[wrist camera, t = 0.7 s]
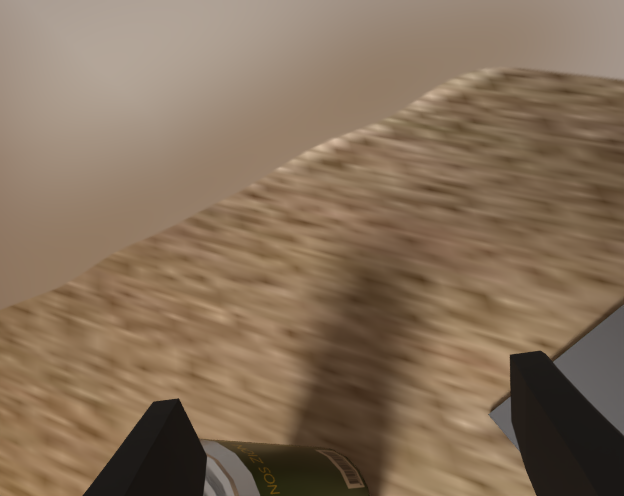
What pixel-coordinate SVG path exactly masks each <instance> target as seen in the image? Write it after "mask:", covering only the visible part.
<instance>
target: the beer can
mask: <svg viewBox="0 0 624 496" xmlns="http://www.w3.org/2000/svg"><path fill="white" fill-rule="evenodd" d="M199 440H200V442H201V444H202V446H203V449H204V451H205V453H206V455H207V465H206V476H205V486H204V494H203V496H370V495H369V490H368V487H367V485H366V483H365V481H364V479H363V477H362V475H361V473H360V471H359V470H358V469H357V468H356V467H355V465H354V464H353V463H352V462H351V461H350V460H349V459H348V458H347V457H345V456H343V455H342V454H340V453H338V452H336V451H334V450H332V449H326V448H319V447H309V446H295V445H280V444H266V443H252V442H238V441H224V440H209V439H199Z"/></svg>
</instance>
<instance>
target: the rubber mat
mask: <svg viewBox="0 0 624 496" xmlns="http://www.w3.org/2000/svg"><path fill="white" fill-rule="evenodd" d="M553 363H554V364H555V365H556V366H557V368H558V369H559V370H560V371H561V372H562V373H563V374H564V375H565V376H566V378H567V379H568V380H569V381H570V382H571V383H572V384H573V385H574V386H575V387H576V388H577V389H578V390H579V391H580V392H581V394H582V395H583V396H584V397H585V398H586V399H587V400H588V401H589V402H590V403H591V404H592V405H593V406H594V407H595V408H596V409H597V410H598V411H599V412H600V413H601V414H602V415H603V416H604V417H605V418H606V419H607V420H608V421H609V422H610V423H611V424H612V425H613V426H614V427H616V428H617V429H618V430H619V431H620V432H621V433H622V434H623V435H624V305H622V306H621V307H620V308H619V309H618V310H616V311H615V312H614V313H613V314H611V315H610V316H609V317H608V318H606V319H605V320H604V321H603V322H602V323H600V324H599V325H598V326H597V327H595V328H594V329H593V330H592V331H590V332H589V333H588V334H587V335H586V336H584V337H583V338H582V339H581V340H579V341H578V342H577V343H576V344H574V345H573V346H572V347H571V348H570V349H568V350H567V351H566V352H565V353H563V354H562V355H561V356H560V357H558V358H557V359H556V360H555V361H554V362H553ZM488 415H489V416H490V417H491V418H492V419H493V420H494V422H495V423H496V424H497V425H498V426H499V428H500V429H501V430H502V431H503V432H504V433H505V435H506V436H507V437H508V438H509V439H510V441H511V442H512V443H513V444H514V445H515V446H516V448H517V449H518V450H519V451H520V449H519V446H518V443H517V439H516V436H515V432H514V429H513V426H512V422H511V397H509V398H508V399H507V400H506V401H504V402H503V403H502V404H501V405H499V406H498V407H497V408H496V409H495V410H493V411H492V412H491V413H490V414H488Z"/></svg>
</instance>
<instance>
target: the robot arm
mask: <svg viewBox="0 0 624 496" xmlns="http://www.w3.org/2000/svg"><path fill="white" fill-rule="evenodd" d="M510 387H511V422H512V426H513V429H514V432H515V436H516V439H517V443H518V446H519V449H520V453H521V456H522V459H523V462H524V465H525V469H526V471H527V474H528V476H529V479H530V481H531V483H532V486H533V488H534V491H535V493H536V495H537V496H624V435H623V434H622V433H621V432H620V431H619V430H618V429H617V428H616V427H614V426H613V425H612V424H611V423H610V422H609V421H608V420H607V419H606V418H605V417H604V416H603V415H602V414H601V413H600V412H599V411H598V410H597V409H596V408H595V407H594V406H593V405H592V404H591V403H590V402H589V401H588V400H587V399H586V398H585V397H584V396H583V395H582V394H581V392H580V391H579V390H578V389H577V388H576V387H575V386H574V385H573V384H572V383H571V382H570V381H569V380H568V379H567V378H566V376H565V375H564V374H563V373H562V372H561V371H560V370H559V369H558V368H557V366H556V365H555V364H554V363H553V362H552V361H551V360H550V358H549V357H548V356H547V355H546V354H545V353H543V352H542V351H535V352H527V353H519V354H512V355H510ZM206 465H207V455H206V453H205V451H204V449H203V446H202V444H201V442H200V440H199V438H198V436H197V434H196V432H195V430H194V428H193V426H192V424H191V422H190V420H189V418H188V416H187V414H186V412H185V410H184V408H183V406H182V404H181V402H180V400H179V399H171V400H163V401H156V402H153V403H152V404H151V406H150V407H149V408H148V410H147V411H146V412H145V414H144V415H143V416H142V418H141V419H140V420H139V422H138V423H137V424H136V426H135V427H134V428H133V430H132V431H131V432H130V434H129V435H128V436H127V438H126V439H125V440H124V442H123V443H122V445H121V446H120V447H119V449H118V450H117V451H116V453H115V454H114V455H113V457H112V458H111V459H110V461H109V462H108V463H107V465H106V466H105V467H104V469H103V470H102V471H101V472H100V474H99V475H98V476H97V478H96V479H95V480H94V482H93V483H92V484H91V486H90V487H89V488H88V489H87V491H86V492H85V493H84V494H83V496H203V494H204V486H205V476H206Z"/></svg>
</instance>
